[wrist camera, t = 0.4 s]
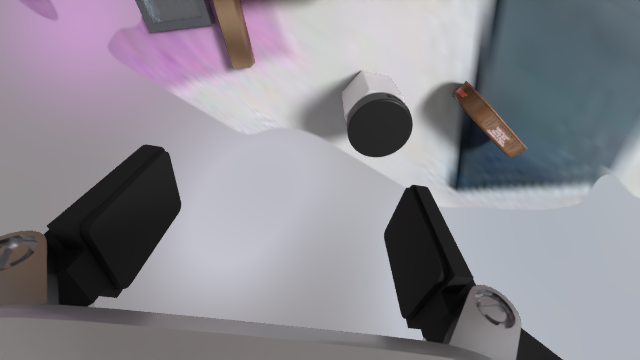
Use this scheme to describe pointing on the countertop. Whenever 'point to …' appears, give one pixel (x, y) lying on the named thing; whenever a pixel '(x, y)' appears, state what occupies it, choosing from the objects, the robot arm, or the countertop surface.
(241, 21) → the door edge strip
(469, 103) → the tin
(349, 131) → the jar
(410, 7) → the countertop surface
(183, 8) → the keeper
